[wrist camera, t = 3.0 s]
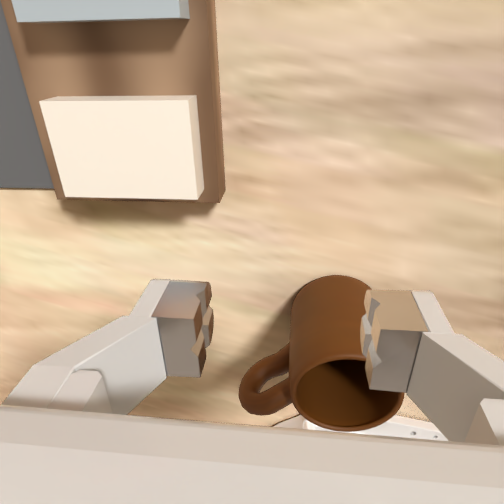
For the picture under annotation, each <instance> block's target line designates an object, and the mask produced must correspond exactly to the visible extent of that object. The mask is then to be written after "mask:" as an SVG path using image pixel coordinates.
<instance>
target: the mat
mask: <svg viewBox="0 0 504 504" xmlns="http://www.w3.org/2000/svg"><path fill="white" fill-rule="evenodd" d="M0 188H53V189H54V186H53V183H52V179H51V176H50V172H49V169H48V165H47V162H46V158H45V155H44V151H43V148H42V144H41V141H40V137H39V134H38V130H37V127H36V123H35V120H34V116H33V113H32V109H31V106H30V102H29V99H28V95H27V92H26V88H25V85H24V81H23V78H22V74H21V71H20V67H19V64H18V60H17V56H16V53H15V49H14V46H13V42H12V39H11V35H10V32H9V28H8V25H7V21H6V18H5V14H4V11H3V7H2V4H1V0H0Z"/></svg>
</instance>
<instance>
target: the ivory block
mask: <svg viewBox="0 0 504 504" xmlns="http://www.w3.org/2000/svg"><path fill="white" fill-rule="evenodd" d="M39 103H40V107H41V110H42V114H43V118H44V121H45V125H46V128H47V132H48V136H49V139H50V143H51V147H52V150H53V154H54V158H55V161H56V165H57V169H58V172H59V176H60V180H61V183H62V187H63V191H64V194H65V197H91V198H139V199H187V200H198V198H199V197H200V195H201V193H202V192H203V190H204V179H203V168H202V156H201V144H200V132H199V121H198V109H197V97H196V95H182V96H57V97H53V98H49V99H45V100H41V101H39Z"/></svg>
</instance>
